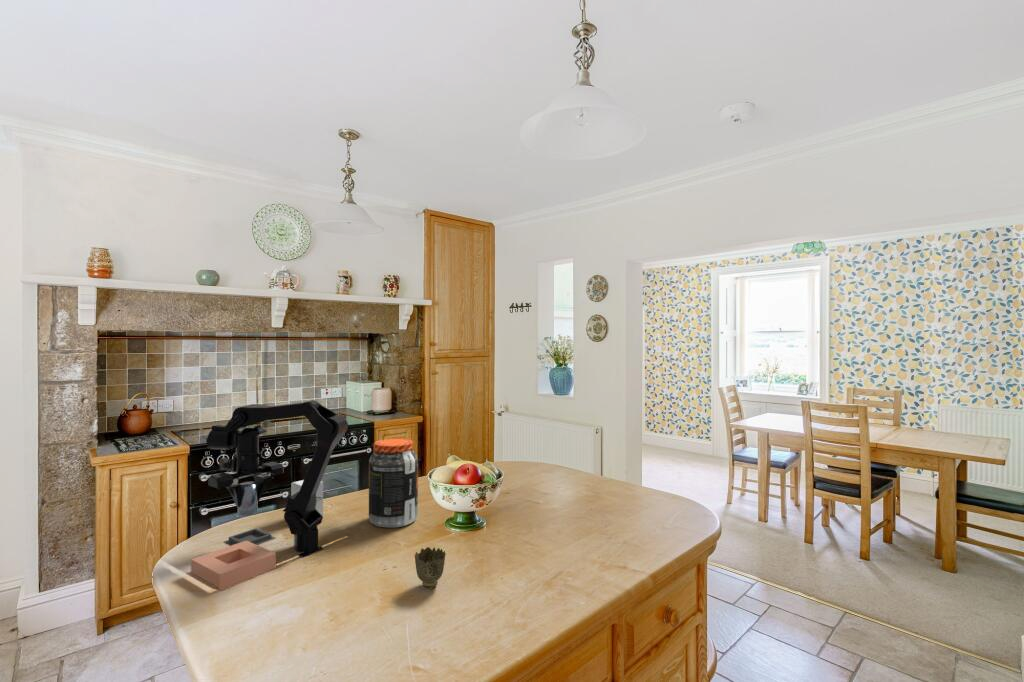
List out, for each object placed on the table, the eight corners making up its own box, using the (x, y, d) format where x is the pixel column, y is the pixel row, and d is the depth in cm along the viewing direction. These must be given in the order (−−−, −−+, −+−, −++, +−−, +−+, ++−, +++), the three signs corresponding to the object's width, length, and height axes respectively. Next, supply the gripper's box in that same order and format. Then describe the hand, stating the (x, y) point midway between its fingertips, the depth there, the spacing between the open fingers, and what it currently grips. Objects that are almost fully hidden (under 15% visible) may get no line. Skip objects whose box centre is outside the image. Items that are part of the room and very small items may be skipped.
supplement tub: (425, 523, 162) (426, 443, 162) (378, 533, 154) (378, 449, 153) (406, 508, 176) (407, 435, 175) (361, 517, 167) (362, 440, 166)
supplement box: (302, 526, 159) (302, 486, 158) (290, 520, 163) (290, 482, 163) (323, 519, 165) (323, 481, 164) (311, 514, 169) (311, 477, 169)
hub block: (275, 568, 130) (275, 553, 130) (219, 591, 119) (220, 574, 119) (246, 554, 138) (246, 540, 138) (191, 575, 126) (191, 559, 126)
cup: (431, 596, 117) (431, 562, 117) (407, 588, 121) (408, 555, 121) (451, 583, 124) (451, 551, 123) (428, 575, 127) (428, 544, 127)
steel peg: (261, 511, 143) (260, 483, 143) (243, 516, 139) (243, 487, 139) (251, 507, 146) (251, 480, 146) (234, 512, 142) (234, 484, 142)
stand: (276, 540, 147) (276, 534, 147) (242, 553, 139) (242, 545, 139) (257, 533, 153) (257, 526, 153) (223, 544, 145) (223, 537, 144)
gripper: (264, 440, 154) (264, 490, 154) (198, 452, 139) (198, 508, 139) (284, 445, 148) (284, 497, 148) (218, 458, 133) (218, 516, 133)
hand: (247, 504), depth 142 cm, fingers closed on steel peg, 5 cm apart
